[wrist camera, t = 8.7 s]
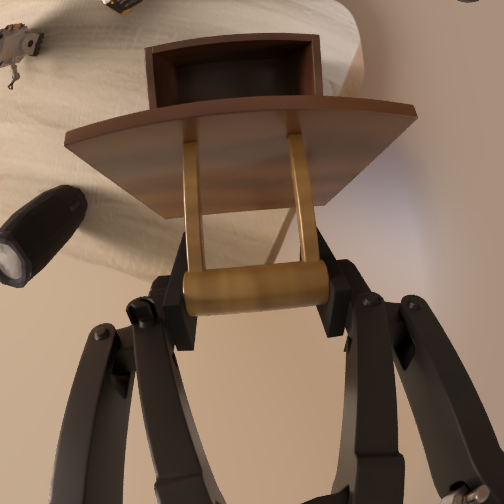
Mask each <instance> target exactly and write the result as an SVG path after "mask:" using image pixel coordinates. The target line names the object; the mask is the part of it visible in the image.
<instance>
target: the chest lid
mask: <svg viewBox="0 0 504 504" xmlns="http://www.w3.org/2000/svg"><path fill="white" fill-rule="evenodd" d="M417 118H418V116H417V113H416V111H415V108H414V106H413V105H410V104H403V103H397V102H390V101H381V100H372V99H363V98H352V97H336V96H310V95H282V96H255V97H240V98H228V99H217V100H209V101H200V102H193V103H186V104H179V105H173V106H167V107H162V108H156V109H151V110H146V111H142V112H137V113H133V114H128V115H124V116H120V117H116V118H112V119H108V120H104V121H101V122H97V123H94V124H90V125H87V126H84V127H80V128H77V129H74V130H71V131H68V132H66V135H65V141H64V146H65V147H66V148H67V149H69V150H70V151H71V152H73V153H74V154H75V155H77V156H78V157H79V158H81V159H82V160H84V161H85V162H86V163H88V164H89V165H90V166H92V167H93V168H94V169H96V170H97V171H99V172H100V173H101V174H103V175H104V176H105V177H107V178H108V179H110V180H111V181H112V182H114V183H115V184H117V185H118V186H119V187H121V188H122V189H124V190H125V191H126V192H128V193H129V194H131V195H132V196H133V197H135V198H136V199H138V200H139V201H140V202H142V203H143V204H145V205H146V206H147V207H149V208H150V209H152V210H153V211H155V212H156V213H157V214H159V215H160V216H162V217H163V218H165V219H171V218H180V217H185V233H186V249H187V263H188V271H187V272H185V274H184V278H183V297H184V304H185V308H186V311H187V314H188V315H189V316H190V317H194V316H210V315H224V314H237V313H248V312H259V311H269V310H279V309H289V308H298V307H306V306H315V305H323V304H326V303H327V302H328V299H329V293H330V283H329V275H328V270H327V267H326V265H325V263H324V261H323V260H321V259H320V257H319V247H318V238H317V229H316V221H315V213H314V206H322V205H323V206H324V205H326V204H327V203H328V202H329V201H330V200H331V199H332V198H333V197H334V196H335V195H337V194H338V193H339V192H340V191H341V190H342V189H343V188H344V187H345V186H346V185H347V184H348V183H350V181H351V180H353V179H354V178H355V177H356V176H357V175H358V174H359V173H360V172H361V171H362V170H363V169H365V167H367V166H368V165H369V164H370V163H371V162H372V161H373V160H374V159H375V158H376V157H377V156H378V155H380V154H381V153H382V152H383V151H384V150H385V149H386V148H387V147H388V146H389V145H390V144H391V143H392V142H393V141H394V140H395V139H397V138H398V137H399V136H400V135H401V134H402V133H403V132H404V131H405V130H406V129H407V128H408V127H409V126H410V125H411V124H412V123H413V122H414V121H415V120H417ZM292 207H296V211H297V219H298V229H299V238H300V247H301V257H302V261H299V262H288V263H277V264H266V265H255V266H244V267H232V268H221V269H209V270H206V266H205V254H204V240H203V225H202V215H209V214H219V213H229V212H241V211H252V210H265V209H278V208H292Z"/></svg>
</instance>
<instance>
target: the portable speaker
mask: <svg viewBox="0 0 504 504" xmlns="http://www.w3.org/2000/svg"><path fill="white" fill-rule="evenodd" d="M87 206H88V204H87V201H86V198H85V195H84V194H83V193H82V192H81V190H80V189H77V188H74V187H72V186H69V185H60V186H58V187H55V188H53V189H50V190H48V191H46V192H43V193H42V194H40V195H39V196H37V197H36V198H34V199H33V200H31V201H30V202H29V203H27V204H26V205H24V206H23V207H22V208H20V209H19V210H18V211H16V212H15V213H14V214H13V215H12V216H11V217H10V218H9V219H8V220H7V221H6V222H5V223H4V224H3V226H2V227H1V228H0V282H1V283H2V284H5V285H9V286H12V287H16V288H22V287H24V286H25V285H26V284H27V282H28V281H30V280H31V279H32V278H33V277H34V276H35V275H36V274H37V273H39V272H40V271H41V270H42V269H43V268H44V267H45V266H46V265H47V264H48V263H49V262H50V260H51V259H52V258H53V257H54V256H55V255H56V254H57V252H58V251H59V250H60V249H61V248H62V247H63V246H64V245H65V244H66V243H67V241H68V240H69V239H70V238H71V237H72V235H73V234H74V232H75V231H76V229H77V228H78V227H79V225H80V224H81V222H82V221H83V220H84V217H85V213H86V210H87Z"/></svg>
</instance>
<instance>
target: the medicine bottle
mask: <svg viewBox="0 0 504 504" xmlns="http://www.w3.org/2000/svg"><path fill="white" fill-rule="evenodd" d="M142 1H144V0H102V2H103V3H104V4H105V5H107V6H109V7H110V8H112V9H113V10H115V11H116V12H118V13H120V14H121V15H123V14H125V13H126V12H128V11H129V10H130V9H132V8H133V7H135V6H136V5H138V4H139V3H141V2H142Z"/></svg>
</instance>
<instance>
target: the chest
mask: <svg viewBox="0 0 504 504" xmlns="http://www.w3.org/2000/svg"><path fill="white" fill-rule="evenodd" d="M144 54H145V67H146V79H147V89H148V99H149V108H150V110H151V109H156V108H162V107H167V106H173V105H179V104H186V103H193V102H200V101H209V100H217V99H228V98H240V97H255V96H282V95H310V96H323V85H322V66H321V51H320V38H319V35H315V34H297V33H252V34H234V35H222V36H212V37H204V38H196V39H190V40H183V41H177V42H172V43H167V44H162V45H157V46H153V47H148V48H144Z"/></svg>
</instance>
